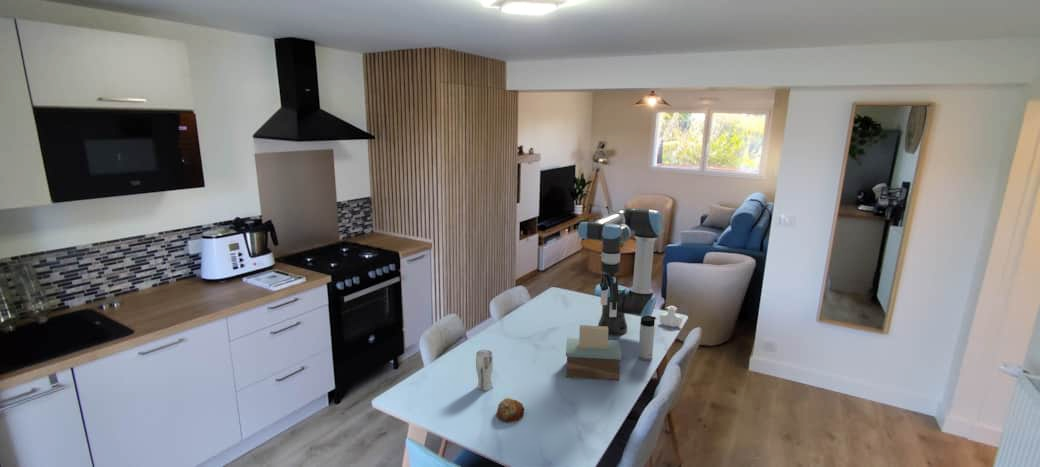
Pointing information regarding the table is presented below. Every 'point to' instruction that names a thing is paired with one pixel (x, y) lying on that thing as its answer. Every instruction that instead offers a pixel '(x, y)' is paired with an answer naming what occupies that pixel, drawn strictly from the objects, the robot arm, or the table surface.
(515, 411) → the bread roll
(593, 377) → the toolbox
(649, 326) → the travel mug
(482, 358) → the beer glass
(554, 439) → the table surface
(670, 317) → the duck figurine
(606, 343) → the lid
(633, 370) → the table surface
